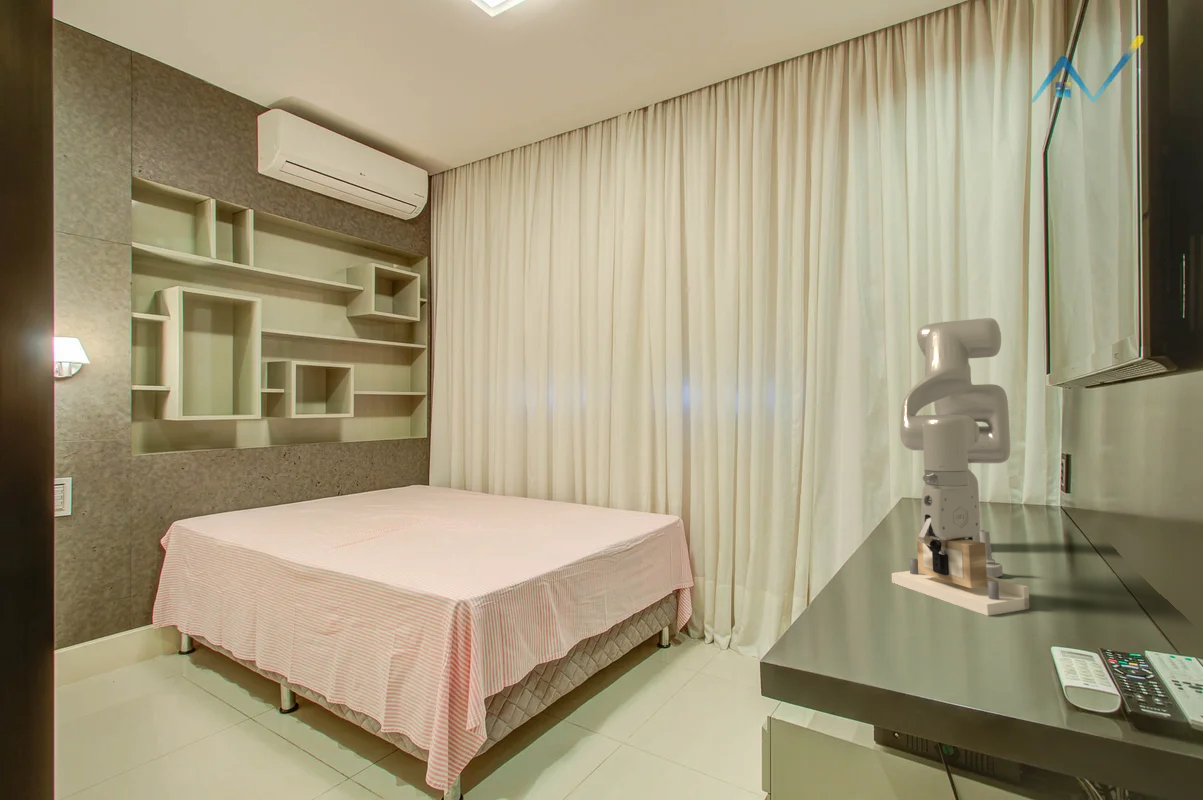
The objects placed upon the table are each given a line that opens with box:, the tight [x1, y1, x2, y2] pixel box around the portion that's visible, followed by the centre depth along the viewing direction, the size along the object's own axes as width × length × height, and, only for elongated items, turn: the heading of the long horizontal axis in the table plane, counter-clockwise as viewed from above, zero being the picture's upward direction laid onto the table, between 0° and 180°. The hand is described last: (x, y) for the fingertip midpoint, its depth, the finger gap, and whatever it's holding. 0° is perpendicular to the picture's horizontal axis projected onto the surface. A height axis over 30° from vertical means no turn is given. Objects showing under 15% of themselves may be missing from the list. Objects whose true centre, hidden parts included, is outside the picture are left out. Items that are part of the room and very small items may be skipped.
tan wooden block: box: [916, 532, 987, 588], centre depth 115 cm, size 12×4×8 cm, turn 17°
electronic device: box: [980, 529, 1004, 578], centre depth 132 cm, size 5×10×15 cm
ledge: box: [891, 558, 1030, 617], centre depth 115 cm, size 22×10×5 cm, turn 17°
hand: (950, 571), depth 115 cm, fingers closed on tan wooden block, 4 cm apart
